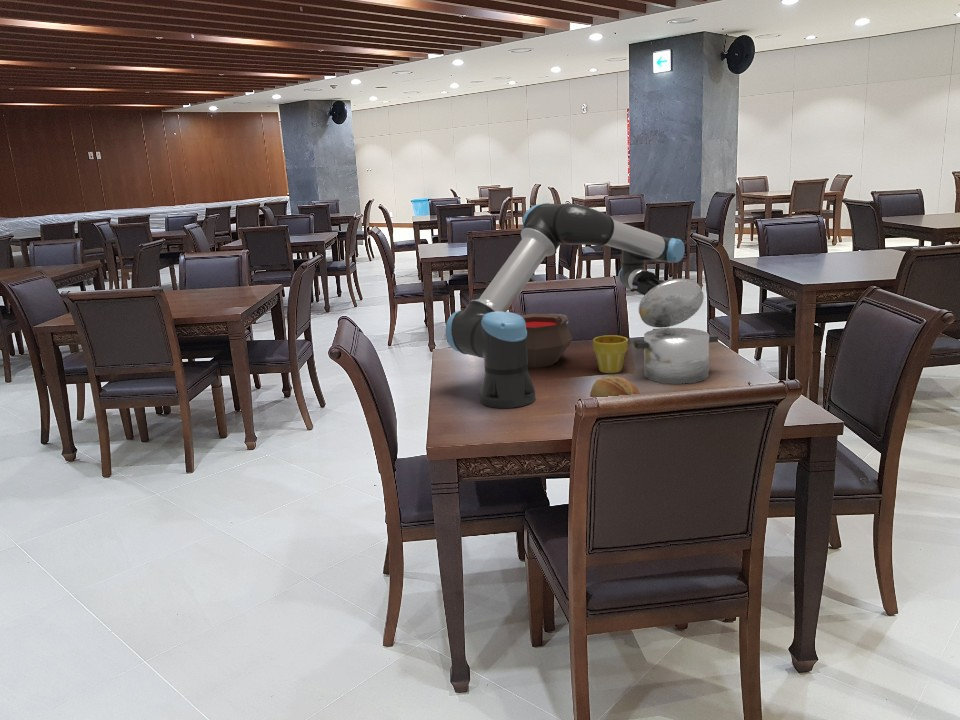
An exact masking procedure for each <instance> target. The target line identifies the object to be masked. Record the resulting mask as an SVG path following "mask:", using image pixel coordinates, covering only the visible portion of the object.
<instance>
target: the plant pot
mask: <svg viewBox="0 0 960 720" xmlns="http://www.w3.org/2000/svg"><path fill="white" fill-rule="evenodd" d="M628 349H629V339H628V337H626V336H622V335H615V334H614V335H613V334H612V335H609V334H607V335H600V336H596V337H594V338H593V339H592V350H593V352H594V353H595V358H596V362H597V366H598V370H599V372H601V373H603V374H618V373H620V372H621V371H622V370H623V365H624V360H625V355H626V352H627V351H628Z"/></svg>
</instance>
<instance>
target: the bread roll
mask: <svg viewBox="0 0 960 720" xmlns="http://www.w3.org/2000/svg"><path fill="white" fill-rule="evenodd" d="M631 394H640V395H641V393H640V391H639V389H638V388H637V387H636V385H635V384H634V383H633V382H631V381H630V380H628V379H627V378H623V377H620V376H606V377H601V378H598V379H596V380H595V381H594V383H593V384H592V387H591V390H590V394H589V396H590V397H608V396H619V395H631ZM590 397H589V398H590Z"/></svg>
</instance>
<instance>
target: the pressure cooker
mask: <svg viewBox="0 0 960 720" xmlns="http://www.w3.org/2000/svg"><path fill="white" fill-rule="evenodd" d="M718 342H719V336H718V335H716V334H714V333H711V334H710V333H709V332H707V331H704V330H701V329H696V328H685V327H662V328H658V327H656V328H652V330H649V331H646V332H645V333H644V334H643V340H636V341H634V342H633V343H634V344H633V345H634V348H635V349H637V350H643V377H645V379H647V378H648V379H647V380H649V379H651V380H654V381H653V382H655V381H659V382H663V383H662V384H666V383H672V384H671V385H686V384H685V383H690V384H695V382H696V383H700V382H703V381H706V380H707V379H708V378H709V364H710V363H709V360H710V353H709V352H710V343H718ZM707 377H708V378H707ZM706 378H707V379H706ZM651 380H650V381H651ZM702 380H703V381H702ZM699 381H700V382H699ZM659 382H658V383H659ZM673 383H675V384H673ZM682 383H683V384H682Z"/></svg>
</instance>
